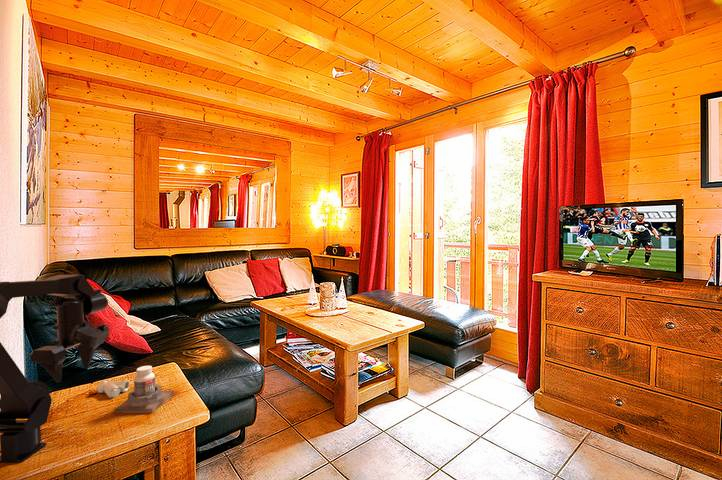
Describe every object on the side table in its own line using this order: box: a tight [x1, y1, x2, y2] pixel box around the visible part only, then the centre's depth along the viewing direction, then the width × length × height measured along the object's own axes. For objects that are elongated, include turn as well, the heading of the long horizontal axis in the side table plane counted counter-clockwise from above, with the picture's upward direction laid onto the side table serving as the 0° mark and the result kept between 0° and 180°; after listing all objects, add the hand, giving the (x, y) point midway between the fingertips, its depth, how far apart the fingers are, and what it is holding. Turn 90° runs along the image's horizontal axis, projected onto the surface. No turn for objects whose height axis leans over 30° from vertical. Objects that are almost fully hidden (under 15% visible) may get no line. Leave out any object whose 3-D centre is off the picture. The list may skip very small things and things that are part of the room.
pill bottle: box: [133, 365, 156, 397], centre depth 104 cm, size 5×5×10 cm
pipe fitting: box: [97, 379, 131, 399], centre depth 111 cm, size 8×4×7 cm
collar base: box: [113, 384, 174, 414], centre depth 104 cm, size 11×11×4 cm
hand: (73, 374), depth 96 cm, fingers open, 9 cm apart
